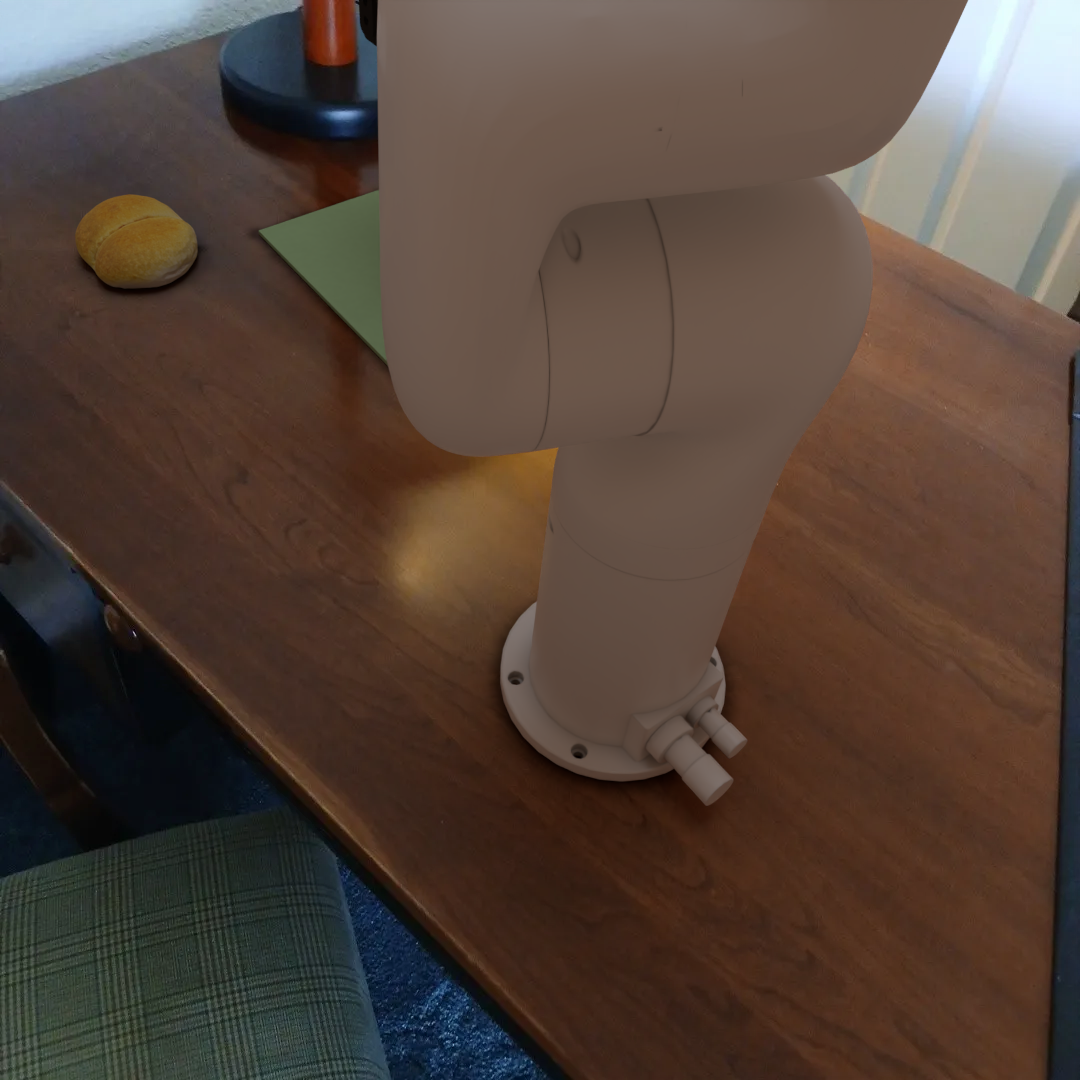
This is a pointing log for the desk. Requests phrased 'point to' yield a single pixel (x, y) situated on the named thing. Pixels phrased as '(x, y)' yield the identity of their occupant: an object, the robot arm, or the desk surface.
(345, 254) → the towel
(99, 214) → the bread roll
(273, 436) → the desk surface
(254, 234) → the desk surface
